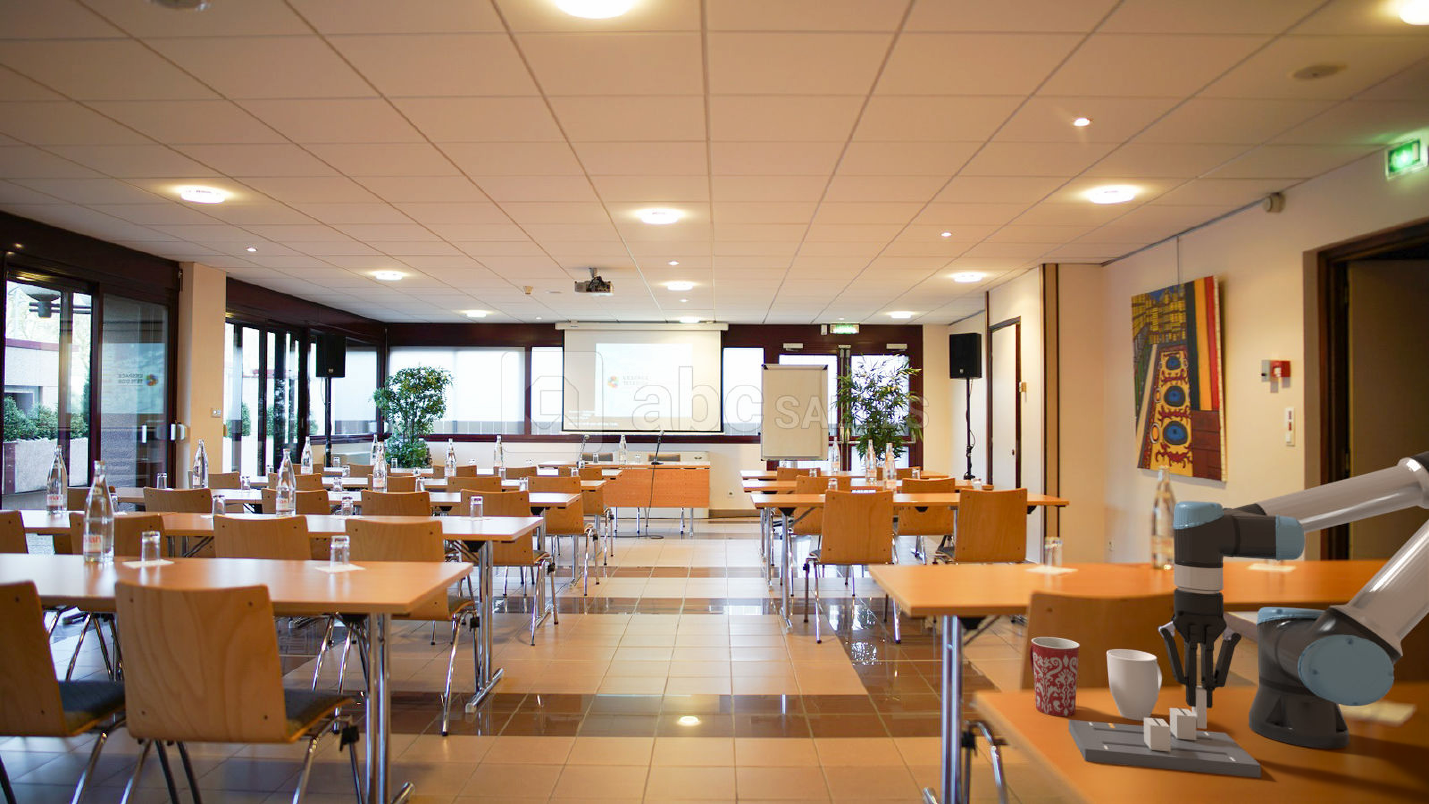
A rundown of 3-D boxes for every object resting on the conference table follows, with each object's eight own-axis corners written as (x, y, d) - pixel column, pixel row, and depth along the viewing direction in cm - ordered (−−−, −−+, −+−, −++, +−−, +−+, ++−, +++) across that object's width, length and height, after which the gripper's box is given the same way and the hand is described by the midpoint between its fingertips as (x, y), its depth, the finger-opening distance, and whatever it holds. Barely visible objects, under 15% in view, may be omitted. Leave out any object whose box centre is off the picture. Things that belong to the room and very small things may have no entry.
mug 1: (1090, 717, 158) (1089, 647, 159) (1046, 718, 157) (1046, 648, 158) (1054, 697, 171) (1054, 632, 172) (1014, 698, 170) (1013, 633, 170)
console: (1225, 744, 144) (1225, 732, 145) (1260, 777, 130) (1260, 764, 130) (1068, 730, 151) (1068, 719, 151) (1085, 761, 136) (1085, 748, 136)
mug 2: (1138, 726, 154) (1135, 661, 154) (1099, 713, 162) (1096, 651, 162) (1180, 717, 158) (1177, 655, 159) (1139, 705, 166) (1137, 646, 167)
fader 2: (1188, 732, 144) (1188, 708, 144) (1196, 740, 140) (1195, 716, 141) (1170, 730, 145) (1169, 707, 145) (1177, 738, 141) (1176, 714, 141)
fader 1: (1163, 742, 139) (1162, 718, 139) (1170, 751, 135) (1170, 726, 135) (1144, 741, 140) (1143, 716, 140) (1150, 749, 136) (1150, 724, 136)
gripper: (1231, 588, 145) (1232, 722, 144) (1151, 583, 148) (1152, 715, 147) (1248, 595, 138) (1249, 737, 137) (1164, 590, 141) (1164, 729, 140)
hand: (1199, 725), depth 142 cm, fingers closed
